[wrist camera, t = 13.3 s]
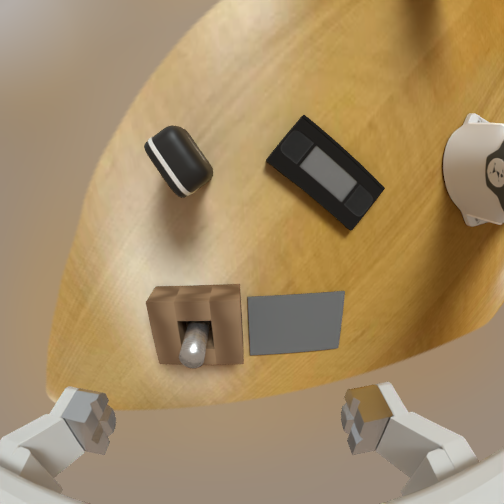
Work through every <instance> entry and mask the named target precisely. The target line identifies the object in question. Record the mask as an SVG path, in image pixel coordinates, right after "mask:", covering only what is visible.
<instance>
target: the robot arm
mask: <svg viewBox="0 0 504 504" xmlns="http://www.w3.org/2000/svg"><path fill="white" fill-rule="evenodd" d="M443 173H444V180H445V184H446V188H447V191H448V193H449V195H450V197H451V199H452V201H453V202H454V203H455V205H456V206H457V207H458V208H459V209H460V210H461V212H462V215H463V218H464V221H465V223H466V225H468V226H471V227H473V226H477V225H480V224H483V223H487V222H491V223H494V224H498V225H502V223H504V124H502V123H489V122H488V121H486V120H485V119H483V118H481V117H480V116H478V115H477V114H474V113H469V114H468V115H467V117H466V119H465V121H464V124H463V125H462V126H461V127H460V128H458V129H457V130H456V131H455V132H454V133H453V134H452V135H451V137H450V138H449V140H448V143H447V145H446V148H445V153H444V160H443ZM475 218H476V219H475ZM345 400H346V404H345V405H344V406H343V407H342V412H341V421H342V426H343V429H344V431H345V432H346V433H348V434H349V437H348V440H347V441H348V444H349V447H350V450H351V453H352V455H355V454H360V453H365V452H370V451H374V450H376V452H377V453H379V454H380V455H381V456H382V457H384V458H385V459H386V460H387V461H389V462H390V463H391V464H393V465H394V466H395V467H397V468H398V469H399V470H400V471H402V472H403V473H404V474H406V475H407V476H409V477H410V480H409V481H408V482H407V483H406V485H405V486H404V487H403V489H402V490H401V493H402V497H400V498H397V499H394V500H391V501H387V502H384V503H381V504H504V448H502V449H500V450H498V451H497V452H495V453H494V454H492V455H490V456H489V457H487V458H485V459H483V460H482V461H480V462H479V460H478V459H477V457H476V456H475V454H474V452H473V451H472V449H471V448H470V446H469V444H468V443H467V441H466V440H465V438H464V437H463V436H461V435H459V434H457V433H454V432H452V431H450V430H448V429H446V428H444V427H442V426H440V425H438V424H436V423H434V422H432V421H430V420H427V419H426V418H424V417H422V416H420V415H418V414H416V413H414V412H408V411H407V409H406V407H405V406H404V404H403V402H402V401H401V399H400V397H399V396H398V394H397V392H396V391H395V389H394V387H393V386H392V384H391V383H390V382H384V383H380V384H376V385H370V386H364V387H360V388H354V389H348V390H347V392H346V394H345ZM108 401H109V400H108V398H107V396H106V394H105V393H102V392H96V391H91V390H86V389H79V388H74V387H70V386H69V387H67V388H65V390H64V392H63V393H62V395H61V396H60V398H59V399H58V401H57V403H56V404H55V406H54V408H53V409H52V411H51V412H50V414H49V415H48V414H45V415H43V416H41V417H40V418H38V419H36V420H34V421H32V422H30V423H29V424H27V425H25V426H23V427H21V428H19V429H17V430H15V431H14V432H12V433H10V434H8V435H6V436H4V437H2V439H1V441H0V504H90V503H86V502H83V501H80V500H77V499H74V498H71V497H68V496H66V495H63V494H61V492H62V487H61V485H60V484H59V483H58V482H57V481H56V480H55V479H54V477H56V476H57V475H58V474H59V473H61V472H62V471H63V470H64V469H65V468H67V467H68V466H69V465H70V464H71V463H72V462H74V461H75V460H76V459H77V458H79V457H80V456H81V455H82V454H83V453H84V451H87V452H92V453H97V454H102V455H105V453H106V450H107V448H108V445H109V442H110V441H109V439H108V436H109V435H111V434H112V433H113V432H114V429H115V425H116V417H115V413H114V411H113V409H112V408H111V407H110V406H109V405H107V403H108Z"/></svg>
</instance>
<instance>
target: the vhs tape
mask: <svg viewBox="0 0 504 504" xmlns="http://www.w3.org/2000/svg"><path fill="white" fill-rule="evenodd" d="M266 161H267V162H268V163H269V164H270V165H272V166H273V167H274V168H276V169H277V170H278V171H279V172H281V173H282V174H283V175H284V176H286V177H287V178H288V179H289V180H291V181H292V182H294V183H295V184H296V185H298V186H299V187H300V188H301V189H303V190H304V191H305V192H306V193H307V194H309V195H310V196H311V197H312V198H313V199H315V200H316V201H317V202H318V203H319V204H320V205H322V206H323V207H324V208H325V209H326V210H328V211H329V212H330V213H331V214H332V215H333V216H334V217H336V218H337V219H338V220H339V221H340V222H341V223H342V224H344V225H345V227H346V228H348V229H349V230H353V228H354V227H355V226H356V225H357V223H358V222H359V221H360V220H361V218H362V217H363V216H364V215H365V213H366V212H367V211H368V210H369V208H370V207H371V206H372V204H373V203H374V202H375V201H376V199H377V198H378V197H379V195H380V194H381V193H382V192H383V190H384V189H385V188H384V187H383V186H382V185H381V184H380V183H379V182H378V181H377V180H376V179H375V178H374V177H373V176H372V175H371V174H370V173H369V172H368V171H367V170H366V169H365V168H364V167H363V166H362V165H361V164H360V163H359V162H358V161H357V160H356V159H355V158H354V157H352V156H351V155H350V154H349V153H348V152H347V151H346V150H345V149H344V148H343V147H342V146H340V145H339V144H338V143H337V142H336V141H335V140H334V139H333V138H331V137H330V136H329V135H328V134H327V133H326V132H324V131H323V130H322V129H321V128H320V127H319V126H317V125H316V124H315V123H314V122H313V121H311V120H310V119H309V118H308V117H306V116H305V115H303V116H302V117H301V118H300V119H299V120H298V121H297V123H296V124H295V125H294V126H293V127H292V128H291V130H290V131H289V132H288V133H287V134H286V136H285V137H284V138H283V139H282V141H281V142H280V143H279V144H278V145H277V147H276V148H275V149H274V150H273V152H272V153H271V154H270V156H269V157H268V158H267V159H266Z"/></svg>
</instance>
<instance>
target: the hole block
mask: <svg viewBox="0 0 504 504" xmlns="http://www.w3.org/2000/svg"><path fill="white" fill-rule="evenodd" d="M146 305H147V310H148V315H149V320H150V325H151V329H152V334H153V338H154V343H155V347H156V351H157V355H158V359H159V363H160V364H182V363H181V362H180V360H179V354H180V350H181V347H182V343H183V340H184V336H185V333H186V330H187V324H186V321H211V323H212V330H209V334H208V340H207V346H206V352H205V358H204V363H203V364H202V365H221V364H244V359H243V331H242V314H241V296H240V284H228V285H199V286H157V287H155V288H154V290H153V292H152V293H151V295H150V296H149V298H148V300H147V301H146Z"/></svg>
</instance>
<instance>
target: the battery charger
mask: <svg viewBox="0 0 504 504" xmlns="http://www.w3.org/2000/svg"><path fill="white" fill-rule="evenodd" d="M144 148H145V151H146V153H147V154H148V156H149V158H150V159H151V161H152V162H153V164H154V165H155V167H156V168H157V169H158V171H159V172H160V174H161V175H162V177H163V178H164V180H165V181H166V182H167V184H168V185H169V187H170V188H171V189H172V191H173V192H174V193H175V194H176V195H177V196H179V197H186V196H188V195H191V194H193V193H194V192H196V191H197V190H198V189H199V188H200V187H201V186H203V185H204V184H205V183H207V182H208V181H209V180H210V179H211V178H212V176H213V168H212V167H211V165H210V163H209V162H208V160H207V159H206V158H205V156H204V155H203V153H202V152H201V151H200V149H199V148H198V146H197V145H196V143H195V142H194V140H193V139H192V137H191V136H190V135H189V133H188V132H187V131H186V130H185V129H183V128H181V127H178V126H168V127H166V128H164V129H163V130H161V131H160V132H159V133H158V134H156V135H155V136H154V137H151V138H150V139H148V141H147V142H146V143H145V146H144Z"/></svg>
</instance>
